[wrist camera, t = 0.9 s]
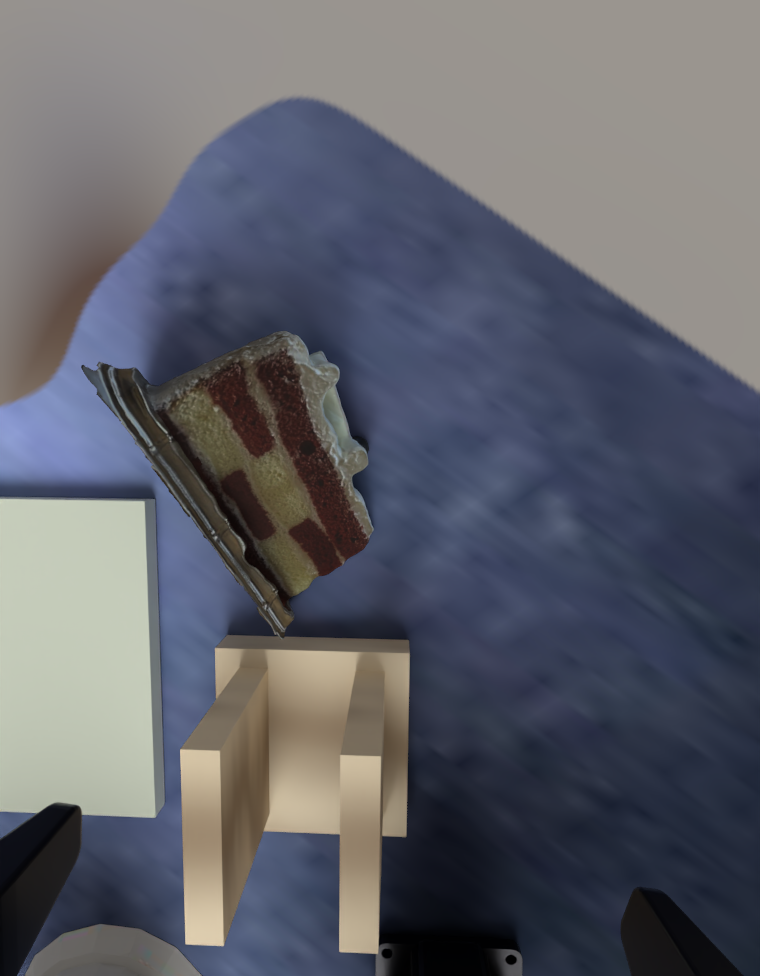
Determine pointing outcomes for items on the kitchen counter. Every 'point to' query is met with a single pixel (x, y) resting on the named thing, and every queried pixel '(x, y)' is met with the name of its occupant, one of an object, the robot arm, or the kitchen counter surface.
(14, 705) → the sage board
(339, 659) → the wooden slotted holder
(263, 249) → the kitchen counter surface
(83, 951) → the french press
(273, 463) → the chocolate cake
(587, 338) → the kitchen counter surface
